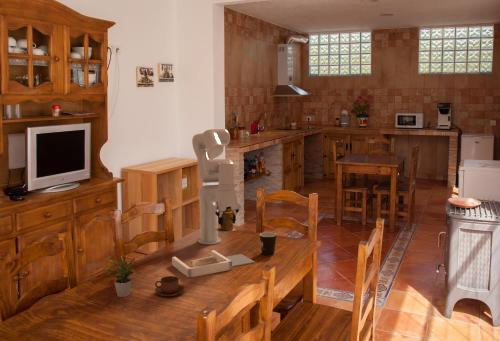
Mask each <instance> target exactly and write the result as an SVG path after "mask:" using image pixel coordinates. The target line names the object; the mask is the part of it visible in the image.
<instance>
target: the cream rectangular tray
mask: <svg viewBox="0 0 500 341" xmlns="http://www.w3.org/2000/svg"><path fill="white" fill-rule="evenodd" d="M210 256H214V257H216V258H217V260H219V263H213V264H208V265H202V266H197V267H192V266H191V267H190V266H189V265H187V264H186V263H184V262H183V261H181V259H180V258H178V257H176V256H173V257H171V265H172V266H173V267H174V268H175V269H176V270H178V272H180V273H182V275H184V276H185V275H186V276H185V277H186V278H188V279H189V277H190V278H194V277H201V276H205V275H210V274H215V273H222V272H225V271H226V272H227V271H231V270H233V267H232V261H231V260H229V259H228V258H226V257H227V256H224V255H222V254H221V253H220V252H217V250H215V249H211V250H210Z"/></svg>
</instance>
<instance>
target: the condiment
mask: <svg viewBox="0 0 500 341" xmlns="http://www.w3.org/2000/svg"><path fill="white" fill-rule="evenodd" d="M222 218H223V225H220V227H218V229H214V230H216V231H218V233H223V234H224V233H227V232H232V231H237V229H236V228H234V223H233V211H232V209H231V207H226V210H225V211H223V213H222Z"/></svg>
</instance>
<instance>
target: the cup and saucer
mask: <svg viewBox="0 0 500 341" xmlns="http://www.w3.org/2000/svg"><path fill="white" fill-rule="evenodd" d="M158 283H160V285H159V286H158V285H157V284H158ZM154 286H155V287H156V288H155V293H156V294H157V295H159V296H160V297H161V296H162V297H175V296H178V295H181V294H182V293H183V292H184V290H185V286H184V285H182V284H180V282H179V277H177V276H174V275H169V276H163V277H161V279H160V280H156V281H155V282H154Z"/></svg>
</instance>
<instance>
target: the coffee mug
mask: <svg viewBox="0 0 500 341" xmlns="http://www.w3.org/2000/svg"><path fill="white" fill-rule="evenodd" d="M276 240H277V233H275V232H269V231H267V232H266V231H265V232H260V234H259V242H260V250H261V255H264V256H273V255H274V254H275V250H276V249H275V248H276V243H277V242H276Z"/></svg>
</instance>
